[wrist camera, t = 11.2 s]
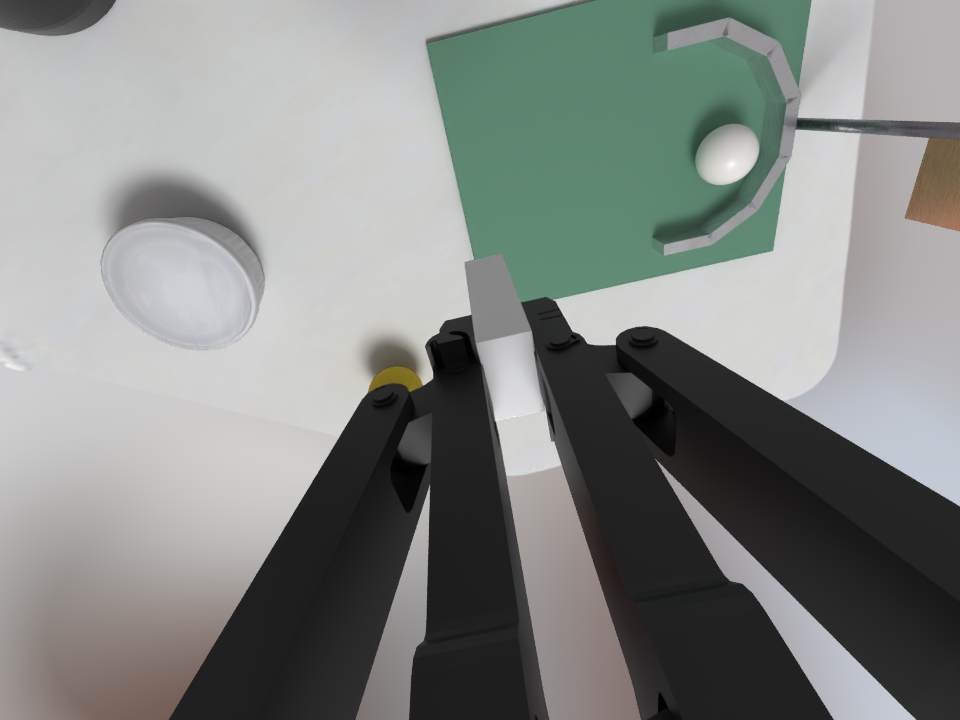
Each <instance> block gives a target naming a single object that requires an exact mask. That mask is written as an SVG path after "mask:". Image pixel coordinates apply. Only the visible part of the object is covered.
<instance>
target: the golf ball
mask: <svg viewBox="0 0 960 720" xmlns="http://www.w3.org/2000/svg"><path fill="white" fill-rule="evenodd" d="M758 155H759V141H758V138H757V136H756V134H755V133H754V132H753V131H752V130H751V129H750V128H748V127H746V126H744V125H741V124H728V125H724V126H721V127H719V128H717V129H715V130H713V131H712V132H711V133H709V134H708V135H707V136H706V137H705V138H704V139H703V141H702V142H701V144H700V145H699V148H698V150H697V153H696V158H695V164H696V169H697V171H698V174H699V175H700V176H701V178H702V179H704V180H705V181H706V182H708V183H711V184H714V185H727V184H731V183H734V182H736V181H738V180H740V179H741V178H743V177H744V176H745V175H746V174H747V173H748V172H749V171H750V170H751V169H752V168H753V166H754V165H755V163H756V161H757V158H758Z"/></svg>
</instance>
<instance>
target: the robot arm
mask: <svg viewBox="0 0 960 720" xmlns="http://www.w3.org/2000/svg"><path fill="white" fill-rule="evenodd" d="M115 1H116V0H0V28H4V29H8V30H14V31H19V32H25V33H31V34H37V35H47V36H59V35H67V34H72V33H76V32H79V31H82V30H84V29H86V28H88V27H90V26H92V25H93V24H95V23H96V22H98V21H99V20H100V19H101V18H102V17H103V16H104V15H105V14H107V12H108V11H109V10H110V9H111V7H112V6H113V4H114V3H115ZM465 270H466V277H467V284H468V292H469V299H470V306H471V314H472V315H469V316H465V317H460V318H456V319H452V320H447V321H445V322H444V324H443V325H442V326H441V328H440V333H438V334H437V335H435V336H433V337H432V338H431V339H430V340H429V341H427V343H426V346H425V348H426V351H427V354H428V357H429V360H430V363H431V366H432V369H433V379H432V380H431V381H430V382H428V383H427V384H426V385H424V386H422V387H420V388H418V389H415V390H413V391H411V392H409V390H408V388H407V387H406V386H405V385H402V384H398V383H391V384H386V385H382V386H380V387H377V388H375V389H374V390H372V391H371V392H369V393H368V394H367V395H366V396H365V397H364V398H363V399H362V401H361V402H360V404H359V406H358V407H357V409H356V411H355V412H354V414H353V416H352V417H351V419H350V421H349V422H348V424H347V425H346V427H345V429H344V430H343V432H342V434H341V435H340V437H339V439H338V440H337V442H336V444H335V445H334V447H333V449H332V450H331V452H330V454H329V456H328V457H327V459H326V460H325V462H324V464H323V465H322V467H321V469H320V470H319V472H318V474H317V475H316V477H315V478H314V480H313V482H312V484H311V485H310V487H309V488H308V490H307V492H306V493H305V495H304V497H303V498H302V500H301V502H300V503H299V505H298V507H297V508H296V510H295V512H294V513H293V515H292V517H291V518H290V520H289V522H288V523H287V525H286V526H285V528H284V530H283V532H282V533H281V535H280V536H279V538H278V540H277V541H276V543H275V545H274V546H273V548H272V550H271V552H270V553H269V555H268V557H267V558H266V560H265V561H264V563H263V565H262V566H261V568H260V570H259V571H258V573H257V574H256V576H255V578H254V580H253V581H252V583H251V585H250V586H249V588H248V590H247V591H246V593H245V594H244V596H243V598H242V599H241V601H240V603H239V604H238V606H237V608H236V609H235V611H234V613H233V614H232V616H231V618H230V619H229V621H228V623H227V624H226V626H225V627H224V629H223V631H222V632H221V634H220V636H219V637H218V639H217V641H216V642H215V644H214V646H213V647H212V649H211V651H210V652H209V654H208V656H207V657H206V659H205V661H204V662H203V664H202V666H201V667H200V669H199V671H198V672H197V674H196V676H195V677H194V679H193V680H192V682H191V684H190V685H189V687H188V689H187V690H186V692H185V694H184V695H183V697H182V699H181V700H180V702H179V704H178V705H177V707H176V709H175V710H174V712H173V714H172V715H171V717H170V719H169V720H355V719H356V716H357V713H358V710H359V706H360V703H361V700H362V697H363V694H364V691H365V687H366V684H367V681H368V678H369V675H370V672H371V669H372V665H373V662H374V659H375V656H376V653H377V650H378V646H379V643H380V640H381V637H382V634H383V630H384V627H385V624H386V621H387V618H388V615H389V612H390V608H391V605H392V602H393V599H394V596H395V592H396V589H397V586H398V583H399V580H400V577H401V574H402V571H403V567H404V564H405V561H406V558H407V555H408V551H409V549H410V545H411V542H412V539H413V536H414V532H415V530H416V526H417V523H418V520H419V517H420V514H421V511H422V507H423V504H424V501H425V498H426V495H427V491H428V488H429V485H430V512H429V548H428V549H429V550H428V586H427V621H426V635H425V638H424V641H423V642H422V643H421V644H420V645H418V646H417V648H416V651H415V655H414V658H413V666H412V676H411V693H410V713H409V720H549V717H548V712H547V707H546V702H545V697H544V692H543V686H542V681H541V675H540V669H539V663H538V658H537V652H536V647H535V640H534V635H533V629H532V623H531V617H530V612H529V606H528V601H527V594H526V589H525V584H524V577H523V571H522V566H521V560H520V554H519V548H518V543H517V537H516V531H515V525H514V519H513V513H512V508H511V502H510V496H509V491H508V485H507V479H506V473H505V467H504V462H503V456H502V450H501V444H500V438H499V433H498V429H497V425H496V421H500V420H505V419H509V418H514V417H518V416H523V415H528V414H532V413H537V412H542V411H545V407H546V413H547V419H548V425H549V431H550V437H551V442H552V441H554V442H555V445H556V448H557V451H558V455H559V458H560V461H561V464H562V467H563V470H564V473H565V476H566V479H567V482H568V485H569V488H570V492H571V495H572V498H573V501H574V504H575V507H576V510H577V513H578V516H579V519H580V522H581V525H582V528H583V532H584V535H585V538H586V541H587V544H588V547H589V550H590V553H591V556H592V559H593V562H594V565H595V568H596V572H597V575H598V578H599V581H600V584H601V587H602V590H603V593H604V596H605V600H606V602H607V605H608V608H609V612H610V615H611V618H612V621H613V624H614V627H615V630H616V633H617V637H618V640H619V642H620V646H621V648H622V652H623V655H624V658H625V661H626V664H627V667H628V670H629V674H630V677H631V680H632V684H633V687H634V692H635V696H636V700H637V705H638V709H639V713H640V717H641V720H834V719H833V718H832V716H831V715H830V713H829V712H828V710H827V708H826V707H825V705H824V704H823V702H822V701H821V699H820V697H819V696H818V694H817V692H816V691H815V689H814V688H813V686H812V684H811V683H810V681H809V680H808V678H807V677H806V675H805V673H804V672H803V670H802V669H801V667H800V665H799V664H798V662H797V661H796V659H795V658H794V656H793V654H792V653H791V651H790V650H789V648H788V647H787V645H786V643H785V642H784V640H783V638H782V637H781V635H780V634H779V632H778V630H777V629H776V627H775V626H774V624H773V623H772V621H771V620H770V618H769V616H768V615H767V613H766V611H765V610H764V609H763V607H762V606H761V604H760V603H759V602H758V601H757V599H756V597H755V596H754V595H753V593H752V592H751V591H749V590H748V589H747V588H746V587H745V586H744V585H743V584H741V583H736V582H731V581H729V579H727V578H726V577H725V576H724V574H723V573H722V571H721V570H720V568H719V567H718V565H717V563H716V561H715V560H714V558H713V556H712V555H711V553H710V551H709V550H708V548H707V546H706V545H705V543H704V541H703V539H702V538H701V536H700V534H699V533H698V531H697V529H696V528H695V526H694V524H693V523H692V521H691V519H690V517H689V516H688V514H687V512H686V511H685V509H684V507H683V506H682V504H681V502H680V501H679V499H678V497H677V495H676V494H675V492H674V490H673V489H672V487H671V485H670V484H669V482H668V480H667V478H666V477H665V475H664V473H663V472H662V470H661V468H660V467H659V465H658V463H657V461H658V462H659V463H660V464H661V465H662V466H663V467H664V468H665V469H666V470H667V471H668V472H669V473H670V474H671V475H672V476H673V477H674V478H675V479H676V480H677V481H678V482H679V483H681V485H682V486H683V487H684V488H685V489H686V490H687V491H688V492H689V493H690V494H691V495H692V496H693V497H694V498H695V499H696V500H697V501H698V502H699V503H700V504H701V505H702V506H703V507H704V508H705V509H706V510H707V511H708V512H709V513H710V514H711V515H712V516H713V517H714V518H715V519H716V520H717V521H718V522H719V523H720V524H722V526H723V527H724V528H725V529H726V530H727V531H728V532H729V533H730V534H731V535H732V536H733V537H734V538H735V539H736V540H737V541H738V542H739V543H740V544H741V545H742V546H743V547H744V548H745V549H746V550H747V551H748V552H749V553H750V554H751V555H752V556H753V557H754V558H755V559H756V560H757V561H758V562H759V563H760V564H761V565H762V566H763V567H764V568H765V569H766V570H767V571H768V572H769V573H770V574H771V575H772V576H773V577H774V578H775V579H776V580H777V581H778V582H779V583H780V584H781V585H782V586H783V587H784V588H785V589H786V590H787V591H788V592H789V593H790V594H791V595H792V596H793V597H794V598H795V599H796V600H797V601H798V602H799V603H800V604H801V605H802V606H803V607H804V608H805V609H806V610H807V611H808V612H809V613H810V614H811V615H812V616H813V617H814V618H815V619H816V620H817V621H818V622H819V623H820V624H821V625H822V626H823V627H824V628H825V629H826V630H827V631H828V632H829V633H830V634H831V635H832V636H833V637H834V638H835V639H836V640H837V641H838V642H839V643H840V644H841V645H842V646H843V647H844V648H845V649H846V650H847V651H848V652H849V653H850V654H851V655H852V656H853V657H854V658H855V659H856V660H857V661H858V662H859V663H860V664H861V665H862V666H863V667H864V668H865V669H866V670H867V671H868V672H869V673H870V674H871V675H872V676H873V677H874V678H875V679H876V680H877V681H878V682H879V683H880V684H881V685H882V686H883V687H884V688H885V689H886V690H887V691H888V692H889V693H890V694H891V695H892V696H893V697H894V698H895V699H896V700H897V701H898V702H899V703H900V704H901V705H902V706H903V707H904V708H905V709H906V710H907V711H908V712H909V713H910V714H911V715H912V716H913V717H914V718H915V719H916V720H960V506H958V505H956V504H955V503H953V502H952V501H950V500H948V499H946V498H945V497H943V496H941V495H940V494H938V493H936V492H935V491H933V490H931V489H930V488H928V487H926V486H925V485H923V484H921V483H920V482H918V481H916V480H915V479H913V478H911V477H909V476H908V475H906V474H904V473H903V472H901V471H899V470H897V469H896V468H894V467H893V466H891V465H889V464H887V463H886V462H884V461H883V460H881V459H879V458H878V457H876V456H874V455H872V454H871V453H869V452H867V451H866V450H864V449H862V448H861V447H859V446H857V445H855V444H854V443H852V442H851V441H849V440H847V439H846V438H844V437H842V436H840V435H839V434H837V433H836V432H834V431H832V430H830V429H829V428H827V427H825V426H824V425H822V424H820V423H819V422H817V421H815V420H814V419H812V418H810V417H809V416H807V415H805V414H803V413H802V412H800V411H799V410H797V409H795V408H793V407H792V406H790V405H788V404H787V403H785V402H783V401H782V400H780V399H778V398H777V397H775V396H773V395H772V394H770V393H768V392H767V391H765V390H763V389H762V388H760V387H758V386H757V385H755V384H753V383H751V382H750V381H748V380H746V379H745V378H743V377H741V376H740V375H738V374H736V373H735V372H733V371H731V370H730V369H728V368H726V367H725V366H723V365H721V364H720V363H718V362H716V361H714V360H713V359H711V358H709V357H708V356H706V355H704V354H703V353H701V352H699V351H698V350H696V349H694V348H693V347H691V346H689V345H688V344H686V343H684V342H683V341H681V340H679V339H677V338H676V337H674V336H672V335H671V334H669V333H667V332H666V331H663V330H661V329H658V328H653V327H647V326H642V327H635V328H631V329H627V330H625V331H624V332H622V333H620V334H619V335H618V336H617V338H616V345H606V346H600V345H590V344H587V343H586V341H585V339H584V338H583V337H582V336H581V335H580V334H577V333H575V332H572V330H571V328H570V326H569V325H568V323H567V321H566V319H565V318H564V316H563V314H562V312H561V310H560V309H559V307H558V305H557V303H556V302H555V301H553V300H551V299H549V298H547V297H543V298H538V299H534V300H530V301H525V302H520V299H519V297H518V294H517V292H516V289H515V287H514V284H513V281H512V279H511V276H510V274H509V271H508V269H507V266H506V263H505V261H504V258H503V256H502V253H501V254H497V255H493V256H489V257H484V258H480V259H476V260H472V261H467V262H465ZM544 405H545V407H544ZM655 459H656V460H657V461H656V460H655Z"/></svg>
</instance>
